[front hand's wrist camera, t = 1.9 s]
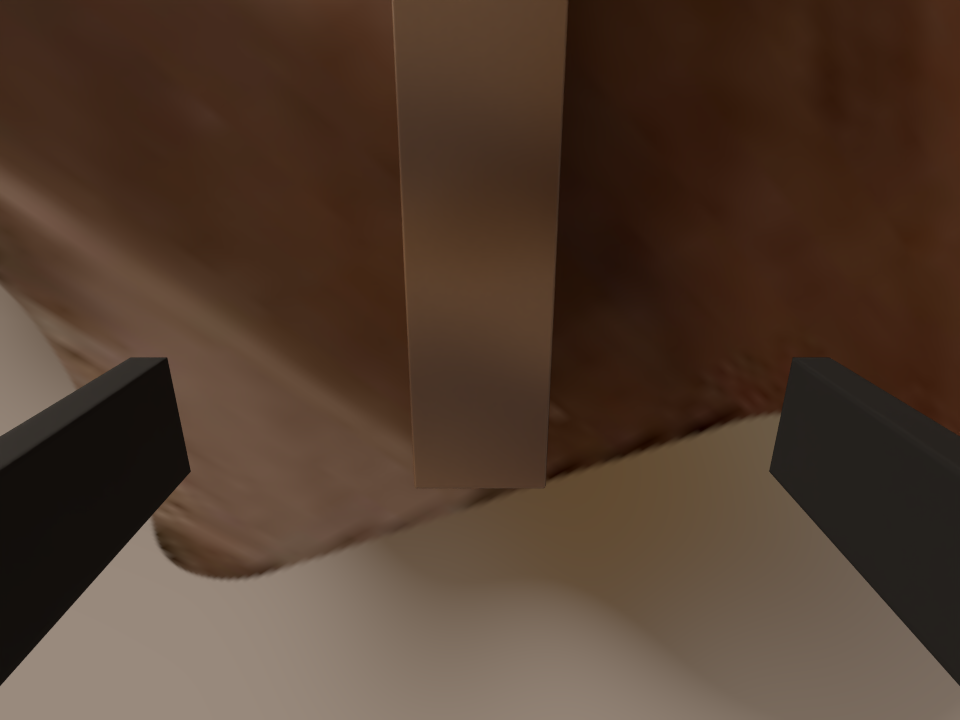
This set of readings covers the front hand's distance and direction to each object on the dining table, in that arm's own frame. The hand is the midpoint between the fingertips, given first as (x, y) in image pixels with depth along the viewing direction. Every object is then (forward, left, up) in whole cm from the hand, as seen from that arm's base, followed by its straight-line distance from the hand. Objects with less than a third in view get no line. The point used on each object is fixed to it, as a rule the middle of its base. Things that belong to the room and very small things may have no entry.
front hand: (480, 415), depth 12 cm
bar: (-3, -30, -14) cm, 33 cm away
